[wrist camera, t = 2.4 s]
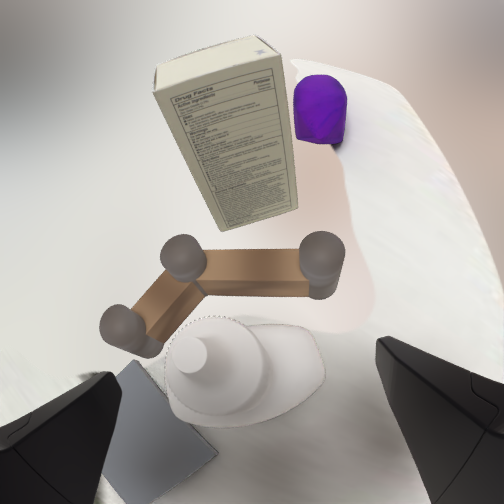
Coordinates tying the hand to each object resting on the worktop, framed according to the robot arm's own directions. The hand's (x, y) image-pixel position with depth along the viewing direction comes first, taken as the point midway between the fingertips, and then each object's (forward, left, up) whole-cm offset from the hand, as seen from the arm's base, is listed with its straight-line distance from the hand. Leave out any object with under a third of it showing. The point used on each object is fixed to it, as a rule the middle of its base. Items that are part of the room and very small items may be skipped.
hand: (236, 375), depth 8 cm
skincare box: (+9, +10, -8) cm, 16 cm away
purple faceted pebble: (+22, +12, -8) cm, 26 cm away
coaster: (-9, +3, -8) cm, 12 cm away
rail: (+2, +5, -8) cm, 10 cm away
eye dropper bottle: (0, 0, -8) cm, 8 cm away
